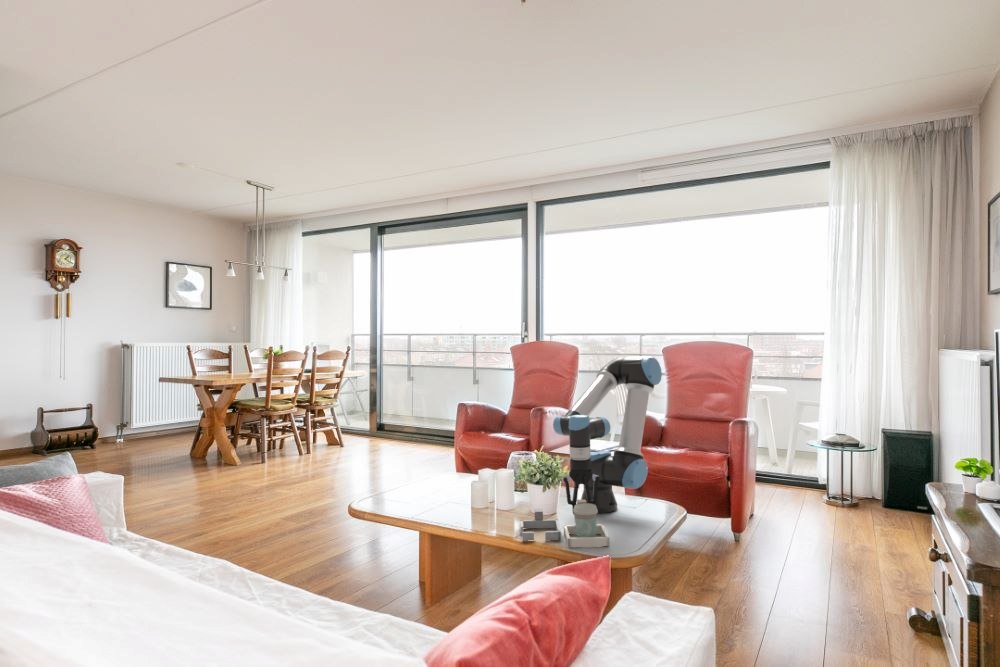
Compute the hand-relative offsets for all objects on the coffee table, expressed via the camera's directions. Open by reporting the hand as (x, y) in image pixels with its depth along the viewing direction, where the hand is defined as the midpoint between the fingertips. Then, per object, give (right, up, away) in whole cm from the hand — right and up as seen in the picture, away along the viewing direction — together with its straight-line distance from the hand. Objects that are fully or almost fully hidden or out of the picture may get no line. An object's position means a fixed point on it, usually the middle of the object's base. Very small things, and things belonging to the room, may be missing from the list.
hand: (582, 523), depth 216 cm
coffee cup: (0, -3, -10) cm, 11 cm away
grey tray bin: (0, -3, -8) cm, 8 cm away
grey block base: (-15, -4, 0) cm, 16 cm away
